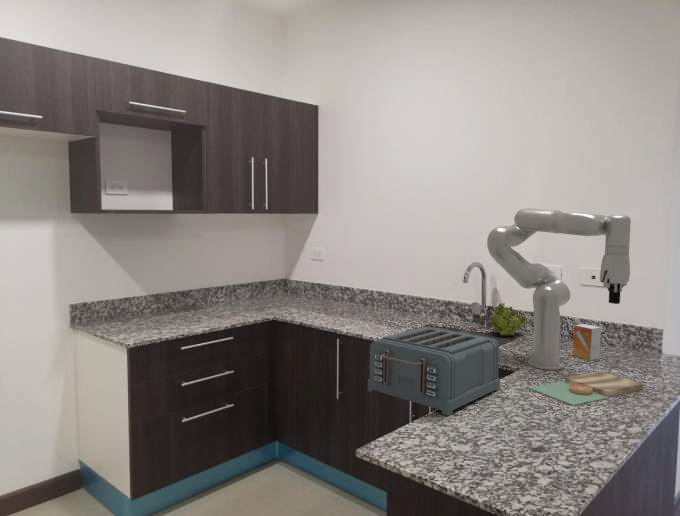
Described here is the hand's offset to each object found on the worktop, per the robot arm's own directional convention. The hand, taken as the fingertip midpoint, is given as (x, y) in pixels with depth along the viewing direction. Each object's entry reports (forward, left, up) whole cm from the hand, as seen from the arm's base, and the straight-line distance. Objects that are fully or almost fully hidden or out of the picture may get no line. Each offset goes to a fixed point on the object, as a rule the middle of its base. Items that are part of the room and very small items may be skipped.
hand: (614, 303), depth 191 cm
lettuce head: (-66, +15, -27) cm, 73 cm away
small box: (-24, +17, -27) cm, 40 cm away
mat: (+5, -27, -27) cm, 39 cm away
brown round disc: (+6, -23, -27) cm, 36 cm away
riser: (+5, -10, -27) cm, 29 cm away
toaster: (-15, -67, -28) cm, 74 cm away
